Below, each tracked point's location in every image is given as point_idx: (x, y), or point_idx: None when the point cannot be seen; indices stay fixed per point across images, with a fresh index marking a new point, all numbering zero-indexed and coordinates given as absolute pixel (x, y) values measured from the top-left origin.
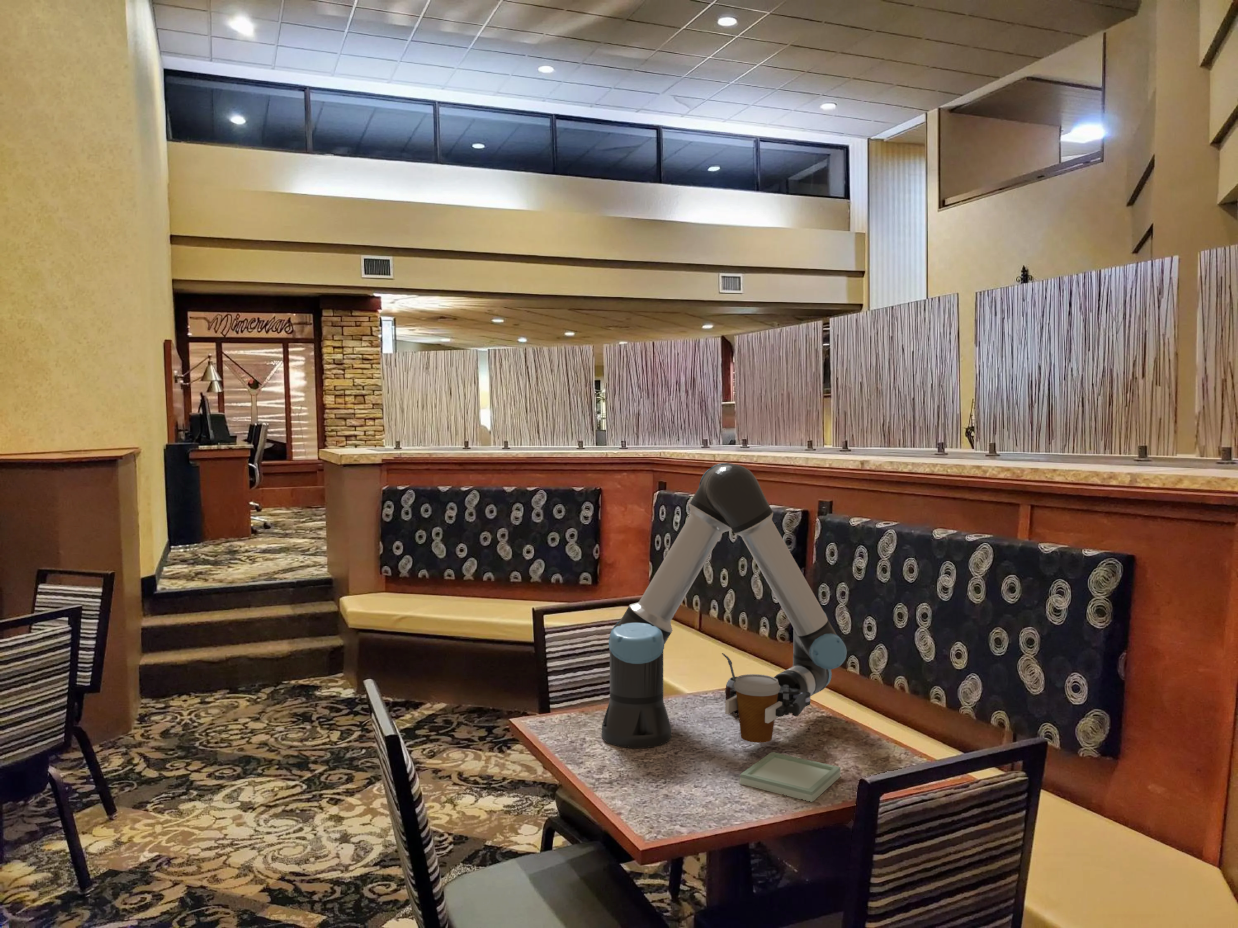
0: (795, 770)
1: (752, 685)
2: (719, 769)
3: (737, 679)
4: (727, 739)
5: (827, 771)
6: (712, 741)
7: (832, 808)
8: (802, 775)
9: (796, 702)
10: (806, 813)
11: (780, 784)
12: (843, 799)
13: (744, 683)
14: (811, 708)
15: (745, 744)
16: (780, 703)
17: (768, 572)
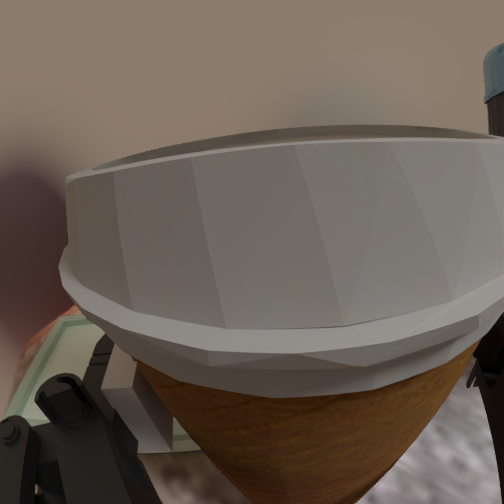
0: None
1: (229, 138)
2: None
3: (375, 125)
4: (463, 458)
5: (30, 413)
6: (463, 409)
7: (40, 332)
8: (79, 371)
9: (5, 457)
10: (74, 308)
11: None
12: (21, 360)
13: (283, 129)
14: None
15: (387, 489)
16: (110, 365)
17: None
